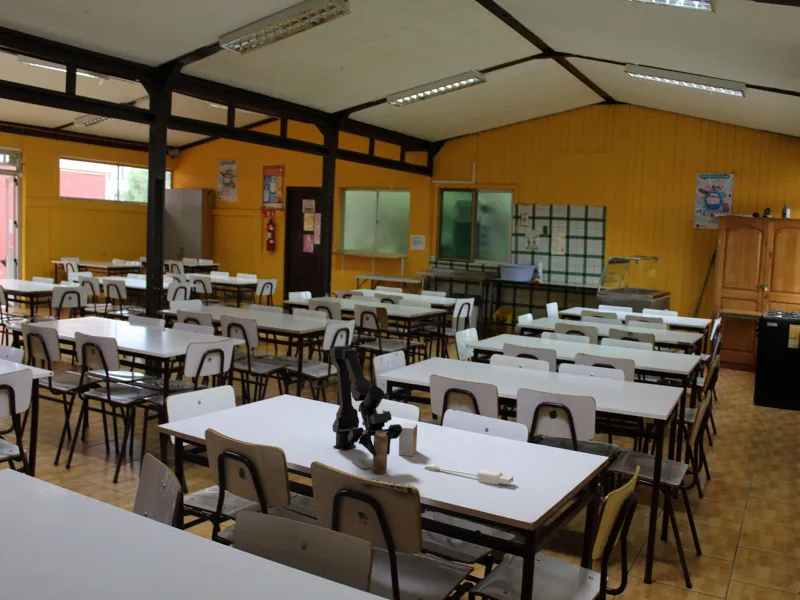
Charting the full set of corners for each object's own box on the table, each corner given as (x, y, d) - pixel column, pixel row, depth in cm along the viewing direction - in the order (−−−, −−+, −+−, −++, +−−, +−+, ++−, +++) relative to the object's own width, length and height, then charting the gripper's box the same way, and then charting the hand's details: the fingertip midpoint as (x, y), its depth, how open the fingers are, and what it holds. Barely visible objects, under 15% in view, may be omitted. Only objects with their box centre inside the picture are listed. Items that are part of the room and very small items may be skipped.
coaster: (352, 462, 261) (352, 461, 261) (375, 459, 265) (375, 458, 264) (361, 469, 253) (361, 468, 252) (385, 467, 256) (385, 465, 256)
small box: (412, 456, 271) (413, 428, 270) (398, 455, 272) (399, 427, 271) (416, 450, 278) (417, 423, 278) (402, 449, 279) (403, 422, 279)
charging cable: (428, 469, 259) (428, 460, 259) (513, 483, 243) (513, 473, 243) (421, 473, 255) (421, 463, 255) (508, 487, 238) (508, 477, 238)
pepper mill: (369, 472, 249) (371, 432, 248) (377, 469, 253) (378, 429, 252) (381, 475, 247) (382, 434, 246) (389, 472, 251) (390, 431, 250)
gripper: (352, 405, 248) (363, 445, 239) (401, 401, 256) (414, 440, 247) (343, 422, 255) (353, 462, 246) (391, 418, 264) (403, 456, 254)
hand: (381, 454), depth 248 cm, fingers closed on pepper mill, 5 cm apart
